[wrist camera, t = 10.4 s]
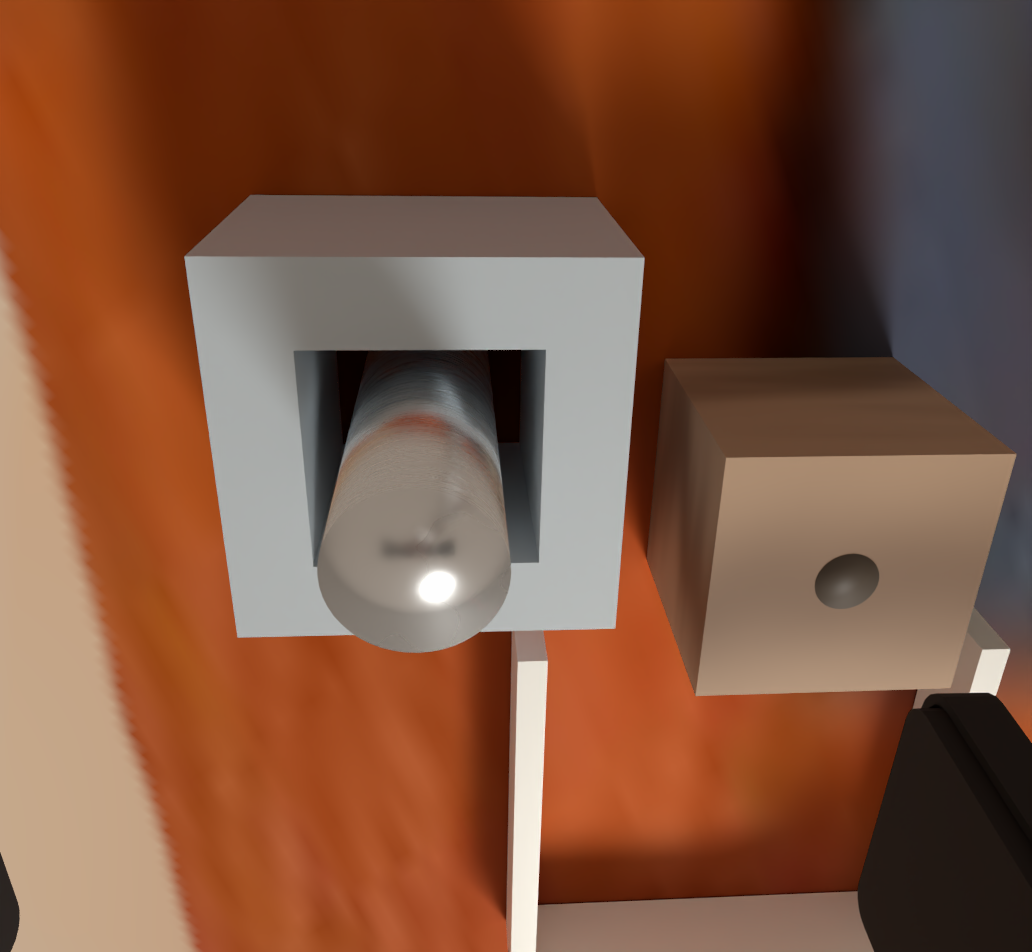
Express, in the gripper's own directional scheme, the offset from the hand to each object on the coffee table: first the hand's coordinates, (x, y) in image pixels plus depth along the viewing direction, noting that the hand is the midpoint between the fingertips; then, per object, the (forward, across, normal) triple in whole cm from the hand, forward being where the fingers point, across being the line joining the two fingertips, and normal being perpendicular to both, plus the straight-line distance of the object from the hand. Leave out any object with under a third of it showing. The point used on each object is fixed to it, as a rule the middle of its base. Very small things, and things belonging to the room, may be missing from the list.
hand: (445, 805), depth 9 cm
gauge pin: (+15, +1, +1) cm, 15 cm away
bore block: (+15, +1, +1) cm, 15 cm away
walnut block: (+16, -8, +4) cm, 18 cm away
